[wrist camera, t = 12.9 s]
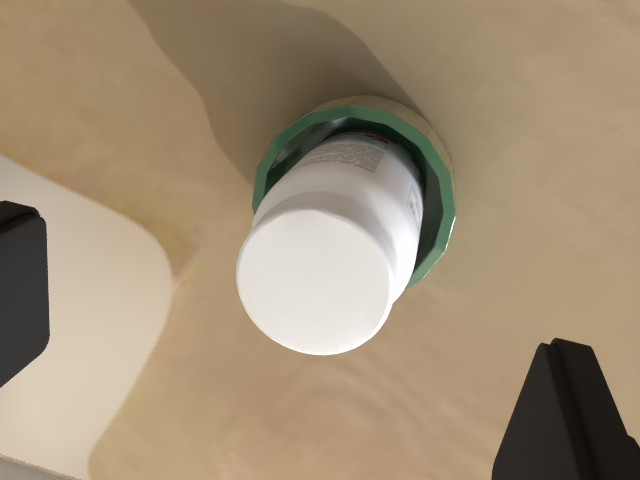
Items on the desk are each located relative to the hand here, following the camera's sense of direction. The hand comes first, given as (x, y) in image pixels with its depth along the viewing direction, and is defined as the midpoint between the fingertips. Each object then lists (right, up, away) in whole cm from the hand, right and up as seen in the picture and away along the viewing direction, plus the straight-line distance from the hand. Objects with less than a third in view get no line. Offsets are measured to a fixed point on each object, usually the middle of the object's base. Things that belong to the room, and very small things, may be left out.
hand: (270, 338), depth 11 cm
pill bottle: (+3, +4, +11) cm, 12 cm away
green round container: (+3, +4, +11) cm, 12 cm away
